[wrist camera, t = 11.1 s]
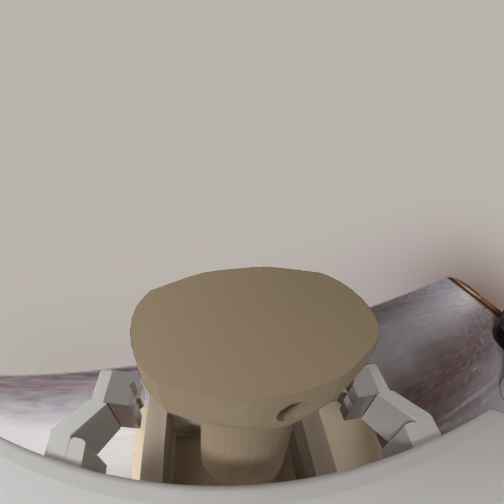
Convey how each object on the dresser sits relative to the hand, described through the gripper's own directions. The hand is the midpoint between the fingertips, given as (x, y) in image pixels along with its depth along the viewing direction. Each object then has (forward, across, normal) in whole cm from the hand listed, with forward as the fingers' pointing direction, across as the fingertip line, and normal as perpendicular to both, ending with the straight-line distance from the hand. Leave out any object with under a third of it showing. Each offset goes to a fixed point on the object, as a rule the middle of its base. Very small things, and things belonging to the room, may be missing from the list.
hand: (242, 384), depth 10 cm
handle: (-1, 0, +10) cm, 11 cm away
